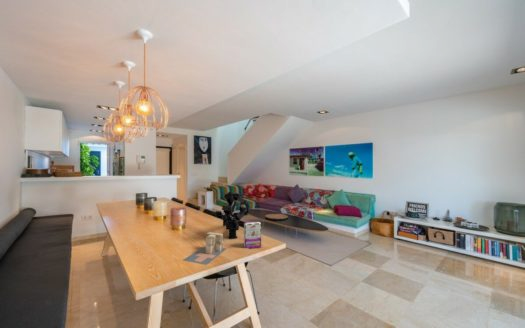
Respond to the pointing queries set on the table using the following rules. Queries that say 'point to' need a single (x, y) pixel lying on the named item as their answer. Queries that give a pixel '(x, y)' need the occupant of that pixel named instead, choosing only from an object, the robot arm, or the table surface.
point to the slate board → (203, 256)
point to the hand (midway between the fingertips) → (223, 225)
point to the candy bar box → (252, 235)
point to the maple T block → (214, 242)
